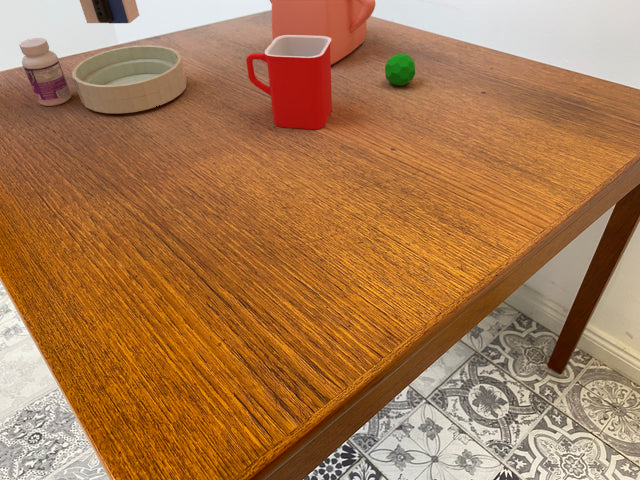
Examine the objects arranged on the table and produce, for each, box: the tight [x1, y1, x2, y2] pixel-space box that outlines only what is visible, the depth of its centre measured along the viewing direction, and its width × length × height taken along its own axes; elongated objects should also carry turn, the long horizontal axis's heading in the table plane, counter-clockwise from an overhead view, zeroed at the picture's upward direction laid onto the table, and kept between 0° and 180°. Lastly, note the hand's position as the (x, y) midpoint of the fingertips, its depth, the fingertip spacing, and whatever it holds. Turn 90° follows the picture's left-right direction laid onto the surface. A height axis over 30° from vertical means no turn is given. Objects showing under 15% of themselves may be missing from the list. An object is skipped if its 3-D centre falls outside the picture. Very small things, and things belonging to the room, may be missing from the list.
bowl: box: [71, 44, 188, 114], centre depth 86 cm, size 17×17×5 cm
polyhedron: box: [384, 52, 416, 87], centre depth 84 cm, size 5×5×5 cm
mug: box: [245, 35, 333, 130], centre depth 75 cm, size 12×8×11 cm
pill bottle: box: [18, 37, 72, 107], centre depth 84 cm, size 5×5×10 cm
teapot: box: [269, 0, 376, 65], centre depth 96 cm, size 20×22×14 cm
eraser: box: [79, 0, 140, 24], centre depth 78 cm, size 7×4×4 cm, turn 83°
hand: (112, 17), depth 79 cm, fingers closed on eraser, 3 cm apart
